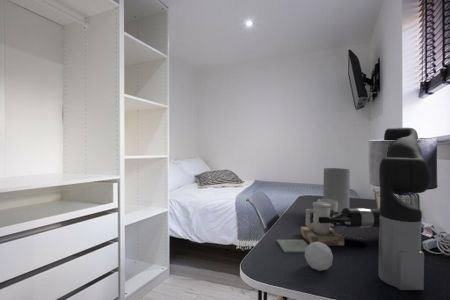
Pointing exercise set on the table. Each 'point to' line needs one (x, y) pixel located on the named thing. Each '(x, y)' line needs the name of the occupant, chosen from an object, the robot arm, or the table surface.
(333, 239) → the stand
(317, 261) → the geometric ball
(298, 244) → the mat
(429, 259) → the table surface
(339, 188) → the cylinder vase
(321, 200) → the mug
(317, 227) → the jug
